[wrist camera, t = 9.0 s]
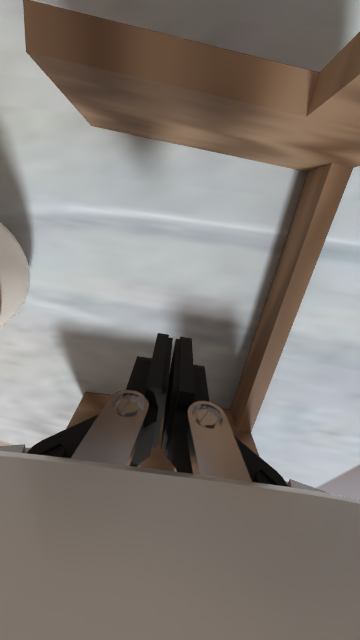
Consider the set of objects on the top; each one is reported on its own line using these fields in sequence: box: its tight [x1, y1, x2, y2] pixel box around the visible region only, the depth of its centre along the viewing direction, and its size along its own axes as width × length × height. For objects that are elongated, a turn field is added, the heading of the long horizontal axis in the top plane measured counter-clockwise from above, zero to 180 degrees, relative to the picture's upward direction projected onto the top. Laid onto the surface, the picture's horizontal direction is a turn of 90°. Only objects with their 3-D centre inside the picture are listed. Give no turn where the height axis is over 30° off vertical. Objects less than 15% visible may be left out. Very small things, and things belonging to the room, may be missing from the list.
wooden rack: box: [23, 0, 360, 472], centre depth 17 cm, size 18×27×12 cm, turn 170°
